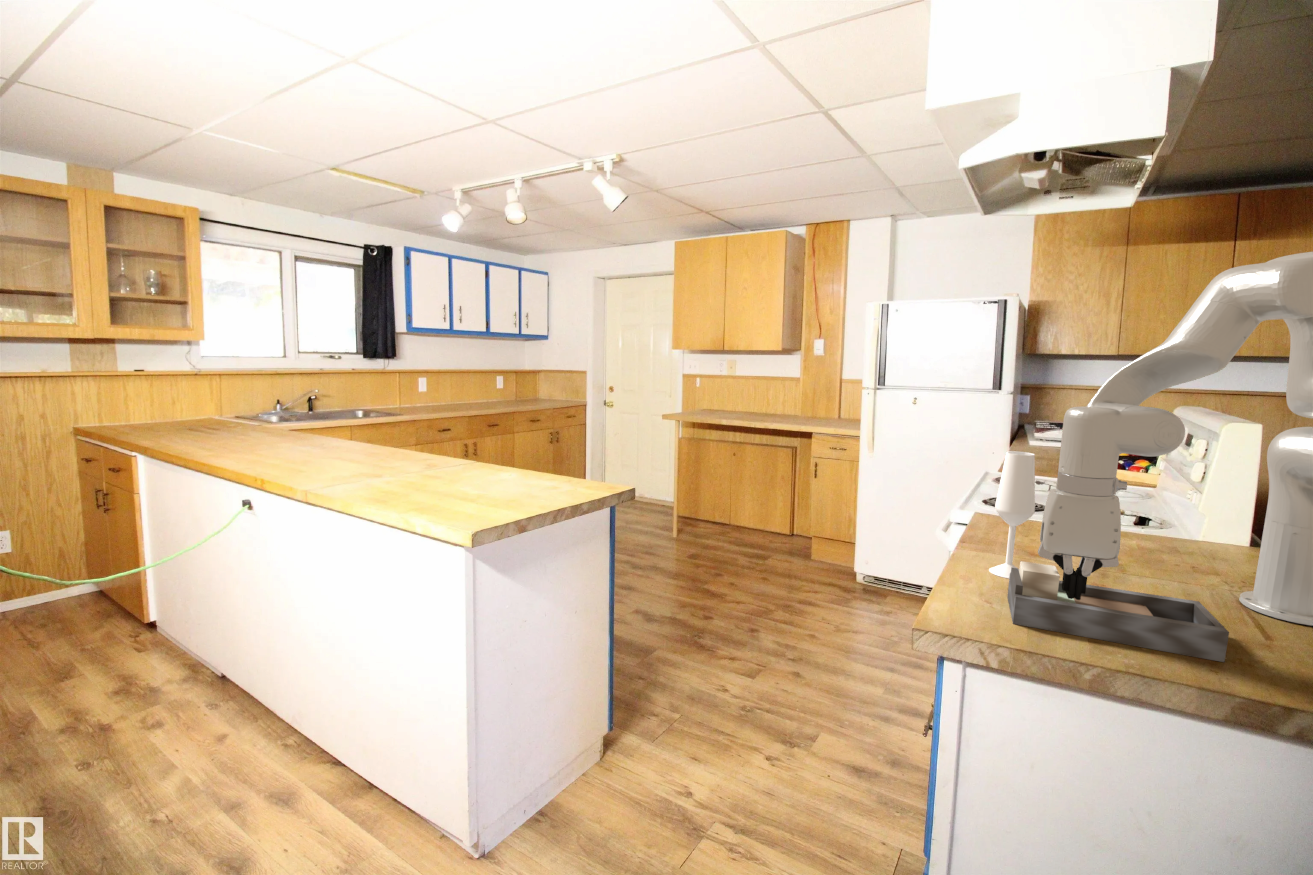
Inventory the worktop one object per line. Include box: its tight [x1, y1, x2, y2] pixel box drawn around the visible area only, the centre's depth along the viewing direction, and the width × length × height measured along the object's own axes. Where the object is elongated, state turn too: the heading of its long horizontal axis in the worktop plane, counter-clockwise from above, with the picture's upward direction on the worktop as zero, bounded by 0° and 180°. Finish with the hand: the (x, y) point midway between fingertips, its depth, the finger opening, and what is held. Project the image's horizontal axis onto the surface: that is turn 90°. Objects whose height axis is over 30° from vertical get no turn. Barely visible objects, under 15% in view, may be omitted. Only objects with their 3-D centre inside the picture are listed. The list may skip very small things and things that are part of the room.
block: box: [1018, 560, 1061, 600], centre depth 100 cm, size 5×5×5 cm
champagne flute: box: [988, 450, 1036, 579], centre depth 118 cm, size 7×7×24 cm
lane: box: [1007, 567, 1230, 663], centre depth 97 cm, size 26×12×6 cm, turn 64°
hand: (1072, 596), depth 98 cm, fingers closed
